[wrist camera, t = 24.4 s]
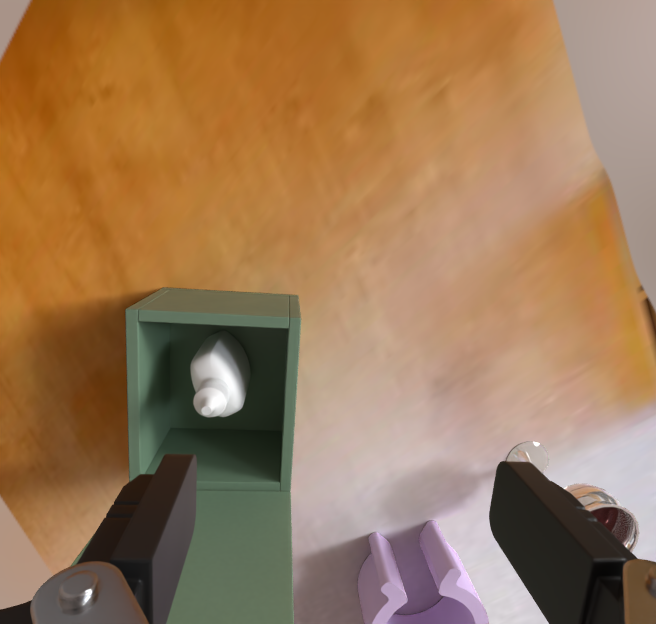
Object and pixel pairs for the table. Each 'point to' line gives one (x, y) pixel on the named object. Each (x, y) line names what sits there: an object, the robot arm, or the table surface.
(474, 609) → the clip
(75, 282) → the table surface
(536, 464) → the wineglass
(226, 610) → the lid
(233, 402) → the eye dropper bottle
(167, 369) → the chest
